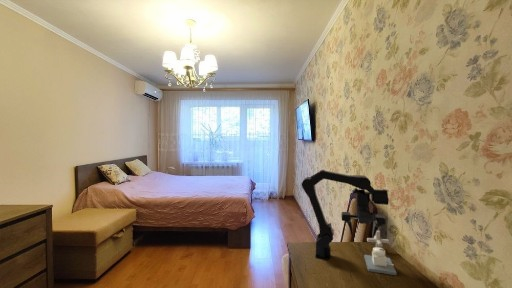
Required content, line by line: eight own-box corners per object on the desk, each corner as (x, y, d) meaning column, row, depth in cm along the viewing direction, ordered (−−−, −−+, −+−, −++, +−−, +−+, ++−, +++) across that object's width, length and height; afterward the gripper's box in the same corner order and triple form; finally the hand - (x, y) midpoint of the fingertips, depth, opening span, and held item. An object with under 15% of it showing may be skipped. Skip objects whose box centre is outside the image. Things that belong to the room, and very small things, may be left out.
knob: (374, 264, 110) (374, 251, 110) (372, 259, 115) (372, 246, 115) (386, 266, 109) (386, 252, 109) (383, 260, 114) (383, 247, 113)
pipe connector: (391, 255, 121) (391, 235, 121) (369, 254, 123) (369, 234, 123) (385, 246, 131) (385, 228, 130) (365, 245, 133) (365, 226, 132)
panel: (368, 271, 107) (368, 260, 107) (364, 257, 120) (364, 247, 120) (397, 275, 104) (397, 264, 104) (390, 260, 117) (390, 250, 116)
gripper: (342, 206, 110) (342, 240, 111) (389, 209, 105) (388, 245, 105) (341, 199, 121) (341, 231, 121) (383, 202, 115) (383, 235, 116)
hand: (362, 235), depth 116 cm, fingers open, 9 cm apart
